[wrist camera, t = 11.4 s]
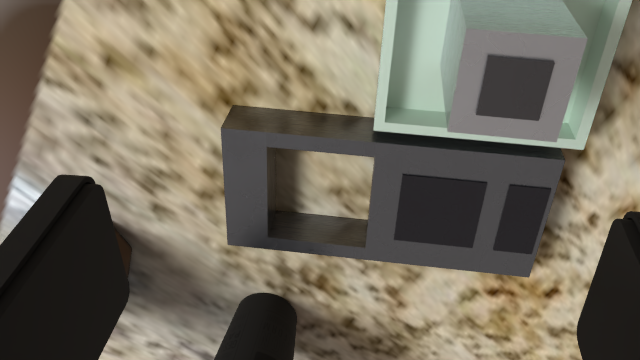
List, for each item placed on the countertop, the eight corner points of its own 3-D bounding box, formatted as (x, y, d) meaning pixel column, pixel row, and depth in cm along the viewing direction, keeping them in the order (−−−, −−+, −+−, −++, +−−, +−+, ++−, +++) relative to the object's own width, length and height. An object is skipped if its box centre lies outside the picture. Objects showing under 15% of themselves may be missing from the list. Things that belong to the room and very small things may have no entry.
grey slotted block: (232, 105, 39) (220, 128, 36) (554, 134, 37) (565, 161, 35) (237, 217, 44) (227, 245, 41) (522, 247, 42) (529, 278, 40)
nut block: (454, -24, 32) (466, 30, 26) (550, -17, 32) (588, 40, 25) (440, 64, 35) (447, 133, 28) (528, 72, 35) (557, 144, 28)
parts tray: (396, -100, 31) (395, -90, 29) (639, -84, 30) (656, -74, 28) (375, 110, 38) (373, 130, 36) (573, 128, 37) (583, 149, 35)
